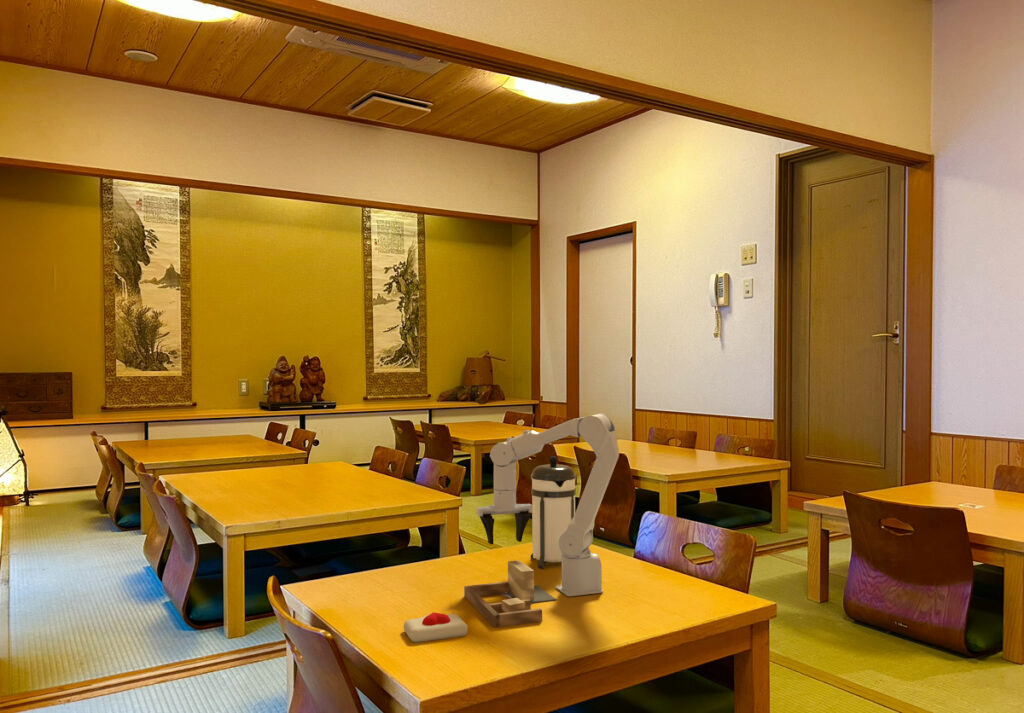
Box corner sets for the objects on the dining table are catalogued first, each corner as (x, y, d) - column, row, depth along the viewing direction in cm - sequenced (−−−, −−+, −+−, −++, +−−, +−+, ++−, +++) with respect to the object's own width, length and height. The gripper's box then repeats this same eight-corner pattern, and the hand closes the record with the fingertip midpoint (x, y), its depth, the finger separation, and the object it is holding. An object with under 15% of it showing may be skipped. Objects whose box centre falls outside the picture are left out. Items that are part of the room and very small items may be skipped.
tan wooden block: (519, 588, 191) (519, 560, 191) (534, 600, 181) (533, 570, 181) (508, 589, 190) (507, 561, 190) (522, 601, 180) (522, 571, 180)
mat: (537, 586, 193) (537, 585, 193) (556, 600, 182) (556, 599, 182) (503, 590, 190) (503, 588, 190) (520, 604, 179) (520, 603, 179)
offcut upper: (516, 606, 172) (516, 597, 172) (525, 611, 169) (525, 602, 169) (501, 609, 170) (501, 600, 170) (509, 614, 167) (509, 605, 167)
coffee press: (592, 560, 218) (592, 455, 218) (560, 572, 206) (560, 460, 206) (543, 551, 229) (542, 450, 229) (509, 562, 216) (509, 456, 217)
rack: (507, 591, 189) (507, 581, 189) (542, 621, 167) (542, 609, 167) (464, 596, 185) (464, 586, 185) (494, 627, 164) (494, 615, 164)
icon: (455, 602, 168) (469, 616, 159) (455, 622, 168) (469, 637, 159) (400, 609, 164) (411, 624, 154) (400, 629, 164) (411, 645, 154)
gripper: (525, 485, 202) (525, 536, 202) (473, 488, 197) (473, 541, 197) (535, 489, 196) (535, 542, 196) (481, 492, 191) (481, 547, 191)
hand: (504, 542), depth 196 cm, fingers open, 7 cm apart
